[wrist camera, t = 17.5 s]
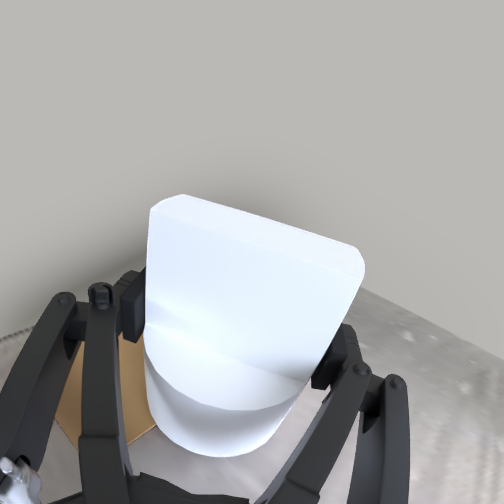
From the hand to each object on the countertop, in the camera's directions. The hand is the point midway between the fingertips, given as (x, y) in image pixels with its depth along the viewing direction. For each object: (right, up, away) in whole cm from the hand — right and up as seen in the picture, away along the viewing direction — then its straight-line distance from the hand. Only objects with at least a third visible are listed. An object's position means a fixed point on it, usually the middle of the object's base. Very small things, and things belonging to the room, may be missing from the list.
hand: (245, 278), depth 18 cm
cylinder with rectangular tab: (-2, -8, -1) cm, 8 cm away
